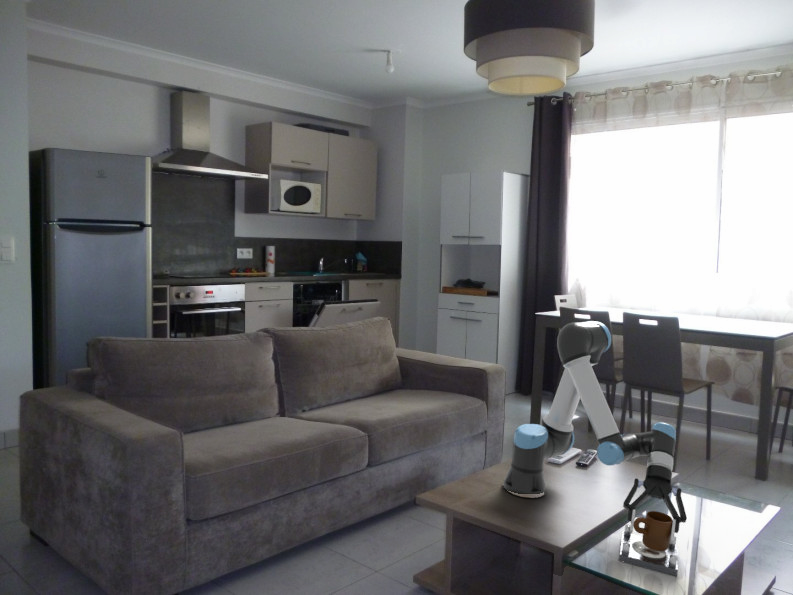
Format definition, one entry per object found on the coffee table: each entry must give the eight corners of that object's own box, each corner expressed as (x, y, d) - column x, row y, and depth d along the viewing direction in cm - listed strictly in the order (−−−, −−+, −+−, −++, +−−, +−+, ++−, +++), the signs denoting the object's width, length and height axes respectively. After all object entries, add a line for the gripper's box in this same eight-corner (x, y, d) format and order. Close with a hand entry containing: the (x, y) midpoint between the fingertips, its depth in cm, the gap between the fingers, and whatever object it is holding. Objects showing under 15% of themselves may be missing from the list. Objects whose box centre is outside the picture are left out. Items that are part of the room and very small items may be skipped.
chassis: (618, 560, 195) (621, 545, 194) (621, 537, 209) (624, 522, 209) (676, 576, 189) (679, 560, 188) (675, 551, 204) (678, 536, 203)
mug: (637, 552, 194) (642, 523, 193) (623, 539, 201) (628, 510, 200) (673, 552, 196) (678, 522, 195) (659, 538, 204) (663, 510, 202)
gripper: (697, 483, 206) (691, 551, 194) (620, 466, 215) (610, 530, 203) (701, 473, 201) (695, 543, 189) (621, 455, 209) (611, 521, 197)
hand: (651, 536), depth 196 cm, fingers closed on mug, 11 cm apart
